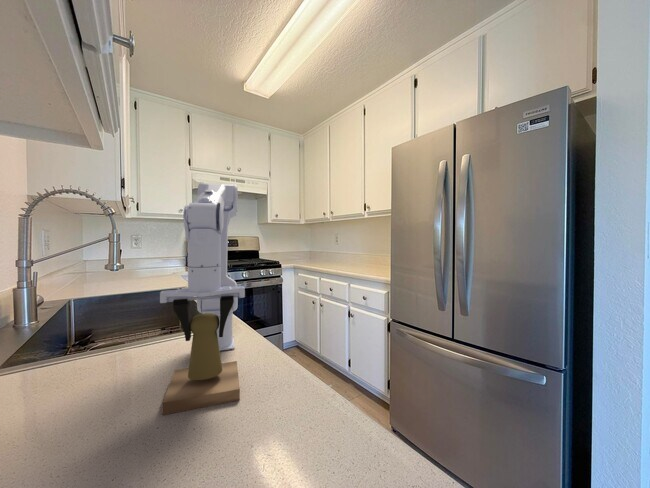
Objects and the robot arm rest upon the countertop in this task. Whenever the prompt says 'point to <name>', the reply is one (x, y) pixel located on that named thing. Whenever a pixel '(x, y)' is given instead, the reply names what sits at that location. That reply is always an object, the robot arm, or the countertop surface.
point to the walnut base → (201, 390)
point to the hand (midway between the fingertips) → (204, 337)
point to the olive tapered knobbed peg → (204, 347)
